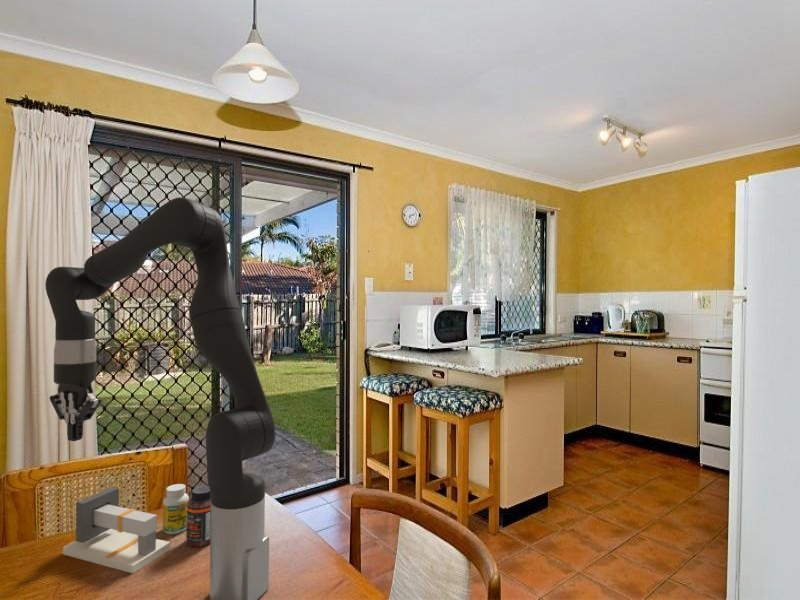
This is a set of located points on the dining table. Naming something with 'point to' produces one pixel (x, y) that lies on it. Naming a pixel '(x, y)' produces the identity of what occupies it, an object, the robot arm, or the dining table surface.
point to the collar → (85, 513)
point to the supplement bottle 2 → (199, 517)
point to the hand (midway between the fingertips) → (74, 439)
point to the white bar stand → (121, 539)
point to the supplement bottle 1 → (175, 509)
